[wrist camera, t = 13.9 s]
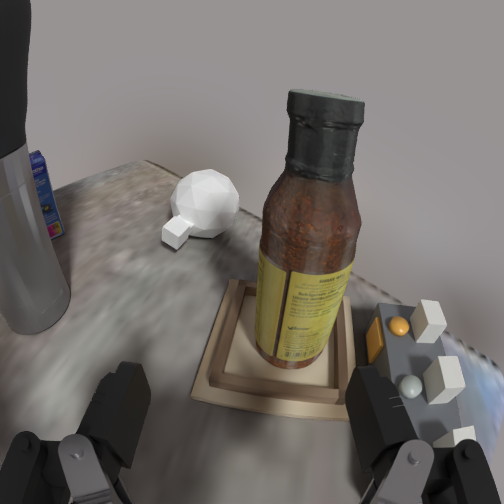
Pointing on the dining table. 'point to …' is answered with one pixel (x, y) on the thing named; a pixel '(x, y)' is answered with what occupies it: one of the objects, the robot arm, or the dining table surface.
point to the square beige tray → (267, 375)
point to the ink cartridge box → (46, 195)
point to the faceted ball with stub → (201, 207)
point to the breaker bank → (419, 369)
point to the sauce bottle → (308, 230)
